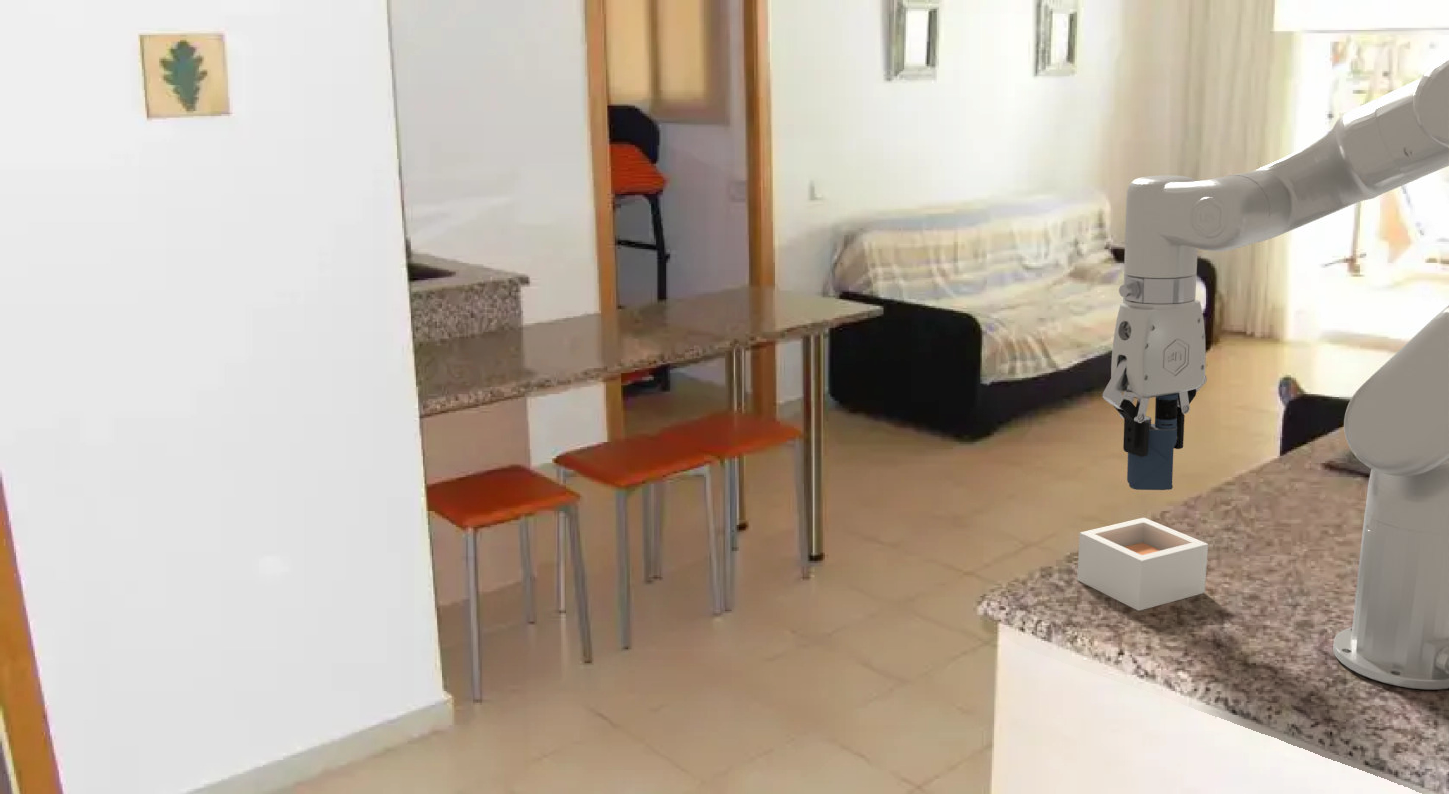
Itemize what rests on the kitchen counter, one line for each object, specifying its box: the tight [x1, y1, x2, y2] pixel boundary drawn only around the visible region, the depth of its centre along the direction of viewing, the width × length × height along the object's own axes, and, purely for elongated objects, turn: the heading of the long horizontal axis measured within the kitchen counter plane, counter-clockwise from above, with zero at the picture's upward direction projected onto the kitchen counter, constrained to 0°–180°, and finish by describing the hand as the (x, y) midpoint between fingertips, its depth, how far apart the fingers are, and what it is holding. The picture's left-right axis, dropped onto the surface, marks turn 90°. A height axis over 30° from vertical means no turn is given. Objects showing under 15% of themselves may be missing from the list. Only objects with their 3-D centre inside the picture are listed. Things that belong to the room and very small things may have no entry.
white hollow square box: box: [1076, 517, 1209, 612], centre depth 146 cm, size 10×10×6 cm
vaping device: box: [1126, 393, 1178, 491], centre depth 142 cm, size 3×5×12 cm, turn 78°
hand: (1153, 448), depth 142 cm, fingers closed on vaping device, 4 cm apart
